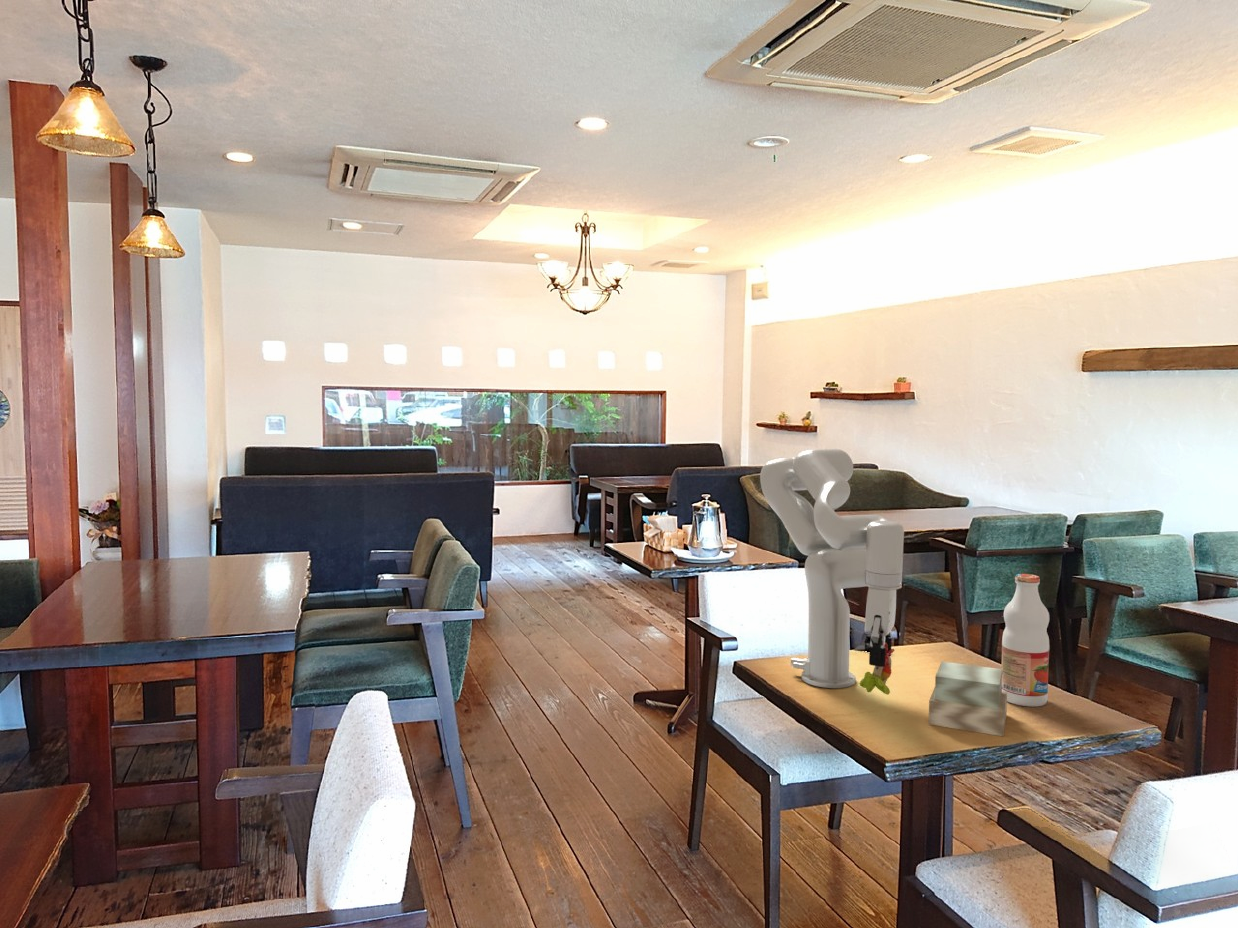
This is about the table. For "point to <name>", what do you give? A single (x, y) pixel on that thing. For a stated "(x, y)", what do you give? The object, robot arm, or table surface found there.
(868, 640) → the dark grey rounded block
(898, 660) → the table surface
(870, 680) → the bird rattle
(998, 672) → the striped stacked block
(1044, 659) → the fruit juice
